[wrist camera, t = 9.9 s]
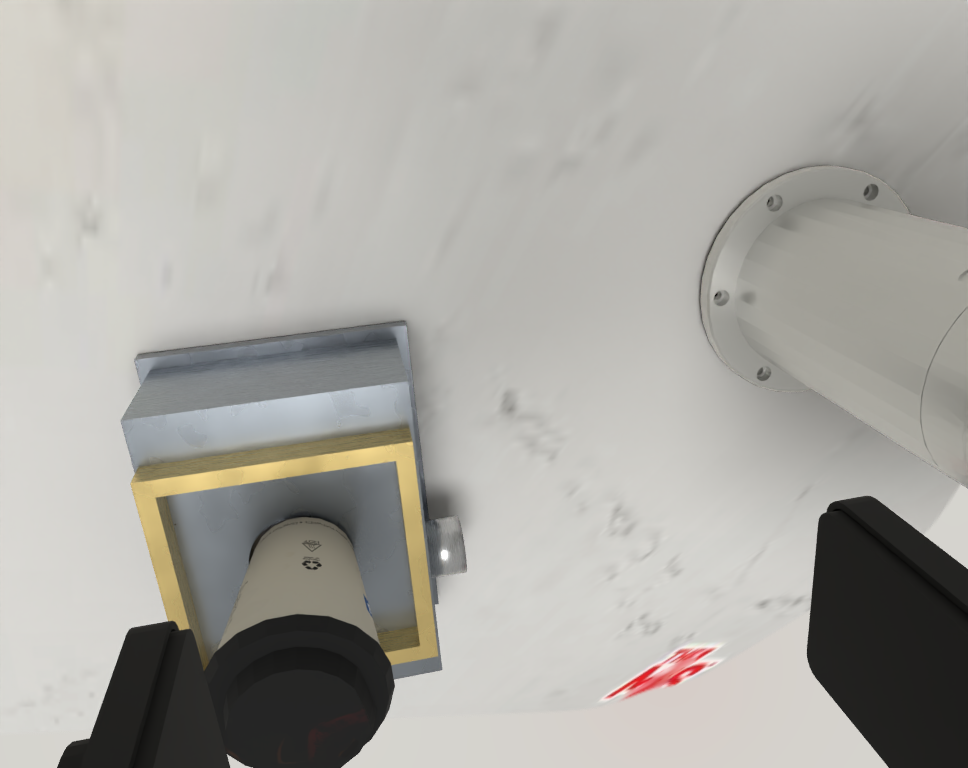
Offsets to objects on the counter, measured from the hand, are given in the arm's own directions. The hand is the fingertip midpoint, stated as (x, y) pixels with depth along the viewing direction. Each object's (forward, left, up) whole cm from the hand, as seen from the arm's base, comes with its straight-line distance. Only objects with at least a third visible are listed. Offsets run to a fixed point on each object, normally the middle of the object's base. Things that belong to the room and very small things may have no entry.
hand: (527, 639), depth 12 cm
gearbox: (+6, +13, -30) cm, 33 cm away
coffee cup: (+6, +13, -23) cm, 27 cm away
